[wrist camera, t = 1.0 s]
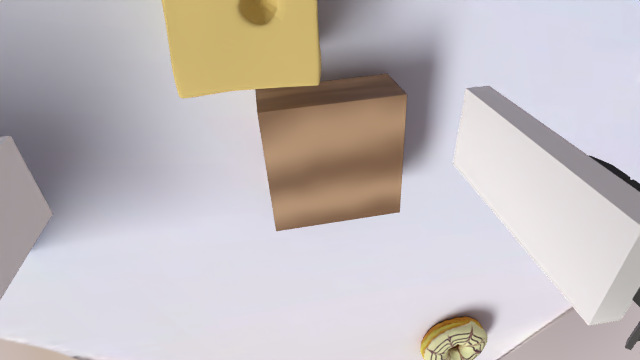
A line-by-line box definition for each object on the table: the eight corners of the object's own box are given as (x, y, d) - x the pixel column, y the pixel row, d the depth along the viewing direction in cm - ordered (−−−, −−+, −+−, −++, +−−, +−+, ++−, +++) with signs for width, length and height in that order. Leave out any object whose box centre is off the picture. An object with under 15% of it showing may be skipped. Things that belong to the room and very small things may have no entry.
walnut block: (255, 87, 38) (257, 113, 33) (386, 72, 40) (407, 94, 35) (272, 197, 45) (276, 231, 41) (382, 181, 47) (399, 212, 42)
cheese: (165, -78, 30) (136, -78, 22) (306, -78, 32) (330, -78, 23) (190, 60, 36) (174, 102, 27) (309, 55, 37) (328, 93, 29)
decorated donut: (486, 335, 68) (498, 355, 65) (429, 361, 70) (438, 382, 66) (469, 303, 62) (482, 323, 59) (408, 333, 64) (417, 354, 61)
